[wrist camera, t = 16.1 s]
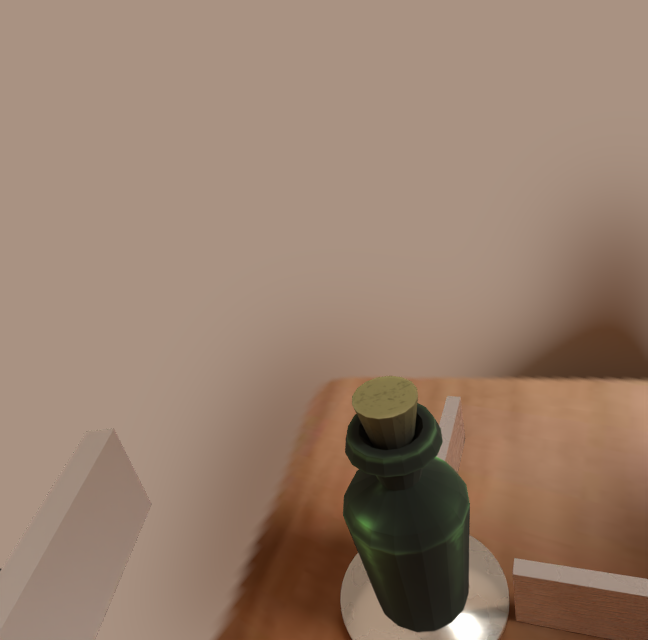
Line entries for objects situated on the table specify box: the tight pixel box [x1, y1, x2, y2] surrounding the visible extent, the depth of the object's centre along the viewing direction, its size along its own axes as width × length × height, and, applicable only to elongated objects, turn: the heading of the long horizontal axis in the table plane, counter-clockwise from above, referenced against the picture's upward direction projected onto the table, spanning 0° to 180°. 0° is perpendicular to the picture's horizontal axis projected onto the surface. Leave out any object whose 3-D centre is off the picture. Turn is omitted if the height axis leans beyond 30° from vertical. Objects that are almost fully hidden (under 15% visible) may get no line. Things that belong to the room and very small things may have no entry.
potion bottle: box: [343, 376, 470, 632], centre depth 39 cm, size 8×8×18 cm
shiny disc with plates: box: [340, 396, 648, 640], centre depth 43 cm, size 19×24×5 cm
